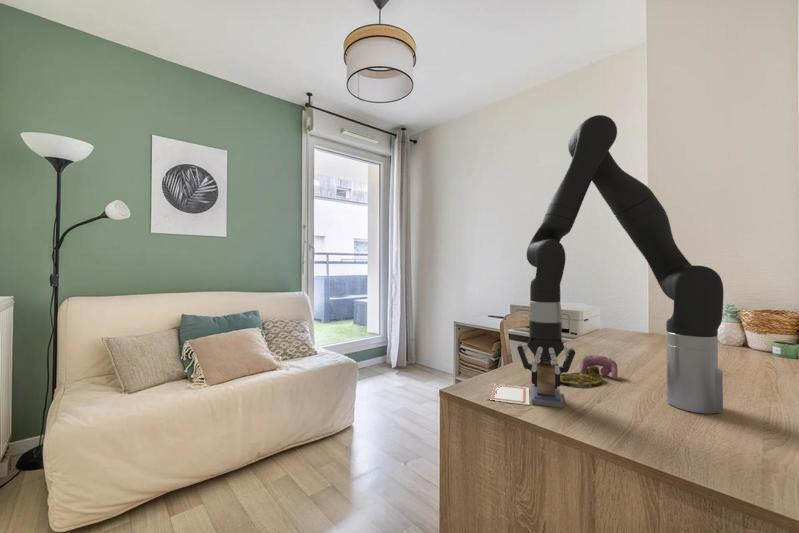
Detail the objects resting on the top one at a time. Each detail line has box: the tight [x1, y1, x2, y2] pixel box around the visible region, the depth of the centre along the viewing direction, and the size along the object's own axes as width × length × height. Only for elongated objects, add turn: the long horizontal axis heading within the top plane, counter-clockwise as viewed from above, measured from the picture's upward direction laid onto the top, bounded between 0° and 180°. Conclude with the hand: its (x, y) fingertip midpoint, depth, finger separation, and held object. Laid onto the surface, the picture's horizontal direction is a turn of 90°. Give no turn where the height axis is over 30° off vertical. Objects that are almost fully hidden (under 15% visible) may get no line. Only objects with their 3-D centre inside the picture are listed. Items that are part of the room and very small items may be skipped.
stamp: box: [537, 359, 555, 397], centre depth 86 cm, size 4×6×8 cm, turn 159°
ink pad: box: [530, 384, 565, 409], centre depth 86 cm, size 7×10×2 cm
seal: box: [560, 366, 604, 388], centre depth 98 cm, size 9×5×15 cm
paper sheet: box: [489, 383, 530, 406], centre depth 89 cm, size 10×12×1 cm
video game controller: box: [579, 354, 619, 381], centre depth 104 cm, size 10×5×7 cm, turn 57°
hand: (545, 386), depth 86 cm, fingers closed on stamp, 4 cm apart
